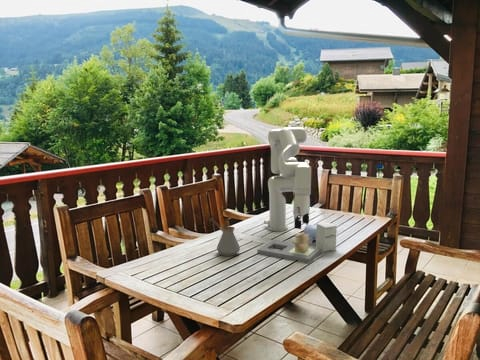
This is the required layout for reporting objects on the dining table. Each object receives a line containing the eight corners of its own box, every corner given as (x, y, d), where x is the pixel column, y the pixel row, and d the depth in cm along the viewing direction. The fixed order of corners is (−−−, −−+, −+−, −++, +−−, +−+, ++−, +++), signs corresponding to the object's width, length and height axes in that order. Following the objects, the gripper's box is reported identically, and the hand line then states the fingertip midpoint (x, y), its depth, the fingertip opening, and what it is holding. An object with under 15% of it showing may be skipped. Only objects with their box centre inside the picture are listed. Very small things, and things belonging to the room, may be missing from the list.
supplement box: (324, 252, 205) (324, 227, 203) (315, 247, 211) (316, 223, 209) (336, 249, 208) (337, 225, 206) (327, 245, 214) (328, 221, 212)
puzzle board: (257, 253, 204) (257, 248, 203) (271, 244, 217) (271, 240, 217) (309, 263, 190) (309, 258, 190) (321, 252, 204) (321, 248, 203)
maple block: (294, 251, 199) (295, 235, 198) (298, 248, 203) (299, 232, 202) (304, 253, 197) (304, 236, 195) (308, 249, 201) (308, 234, 200)
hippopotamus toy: (314, 247, 212) (315, 229, 210) (297, 239, 225) (297, 222, 223) (330, 244, 217) (331, 226, 215) (312, 236, 230) (313, 220, 228)
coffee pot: (244, 254, 203) (244, 224, 200) (225, 259, 196) (224, 228, 194) (220, 243, 220) (220, 215, 217) (202, 247, 213) (201, 219, 211)
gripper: (302, 186, 204) (301, 220, 208) (287, 193, 190) (287, 229, 193) (316, 188, 201) (315, 222, 204) (303, 195, 186) (302, 231, 189)
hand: (301, 225), depth 198 cm, fingers open, 9 cm apart
